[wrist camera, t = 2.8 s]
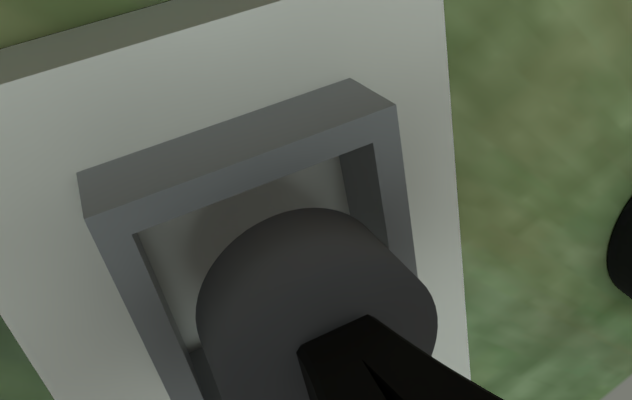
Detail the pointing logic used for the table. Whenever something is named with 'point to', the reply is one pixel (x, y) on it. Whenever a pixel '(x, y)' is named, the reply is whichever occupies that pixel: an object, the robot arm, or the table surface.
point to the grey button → (301, 299)
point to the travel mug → (622, 252)
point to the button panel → (211, 172)
